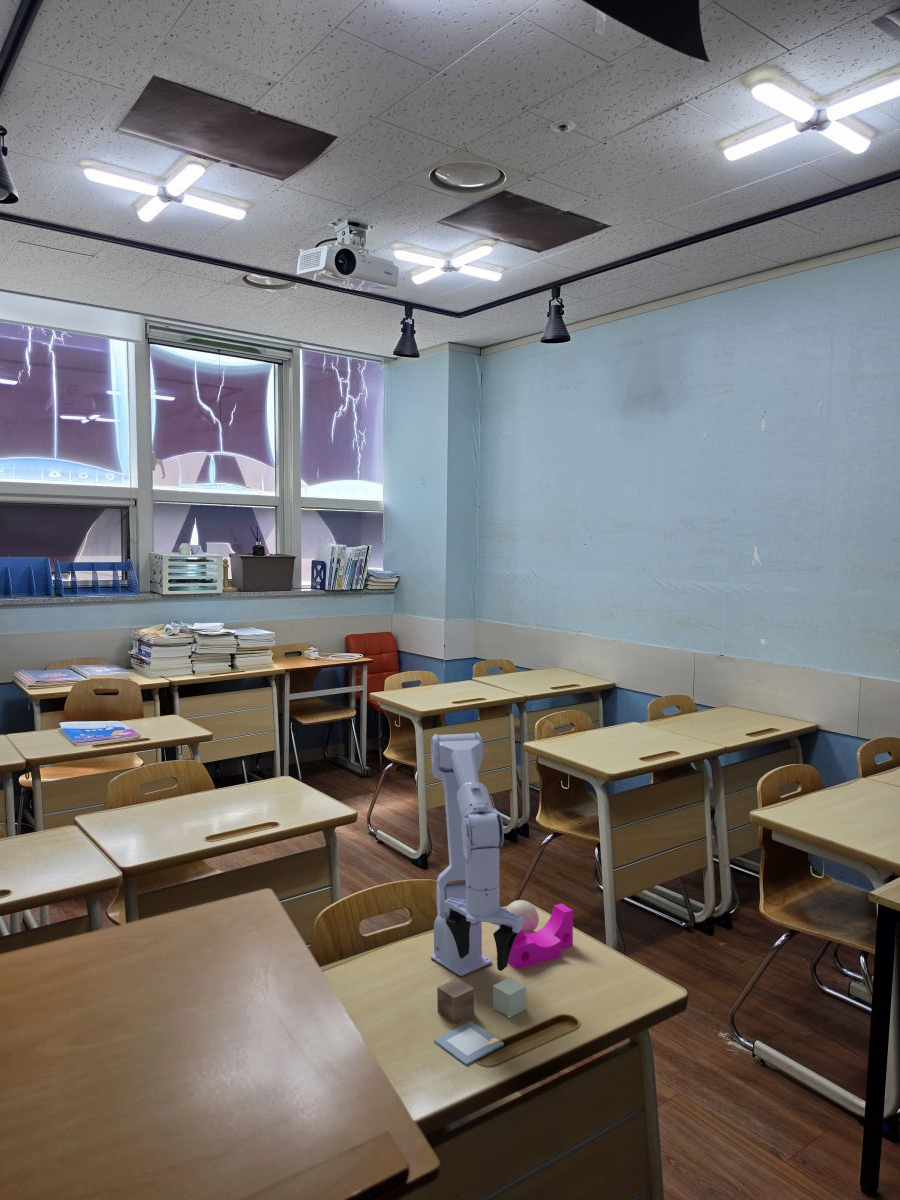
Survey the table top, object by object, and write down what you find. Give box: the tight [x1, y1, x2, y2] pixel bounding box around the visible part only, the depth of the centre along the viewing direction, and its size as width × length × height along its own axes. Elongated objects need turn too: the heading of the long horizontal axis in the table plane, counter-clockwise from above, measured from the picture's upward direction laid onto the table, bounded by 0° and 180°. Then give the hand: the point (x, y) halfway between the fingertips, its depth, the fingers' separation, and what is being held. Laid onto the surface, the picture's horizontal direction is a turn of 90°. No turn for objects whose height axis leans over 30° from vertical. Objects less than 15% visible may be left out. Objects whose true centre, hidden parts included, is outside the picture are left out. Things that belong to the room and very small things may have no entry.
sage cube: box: [492, 977, 527, 1017], centre depth 137 cm, size 4×4×4 cm
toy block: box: [498, 902, 574, 970], centre depth 156 cm, size 15×6×8 cm, turn 117°
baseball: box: [506, 899, 540, 934], centre depth 165 cm, size 7×7×7 cm
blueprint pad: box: [433, 1021, 505, 1066], centre depth 128 cm, size 8×8×1 cm
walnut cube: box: [436, 977, 475, 1024], centre depth 136 cm, size 4×4×4 cm
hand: (483, 961), depth 135 cm, fingers open, 7 cm apart
